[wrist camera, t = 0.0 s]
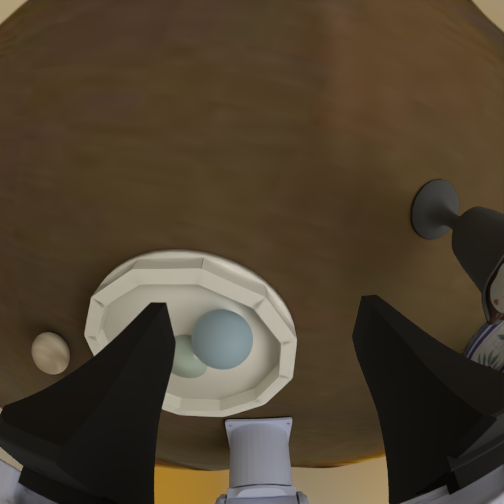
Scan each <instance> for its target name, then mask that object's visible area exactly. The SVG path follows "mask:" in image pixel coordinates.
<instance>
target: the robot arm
mask: <svg viewBox="0 0 504 504" xmlns="http://www.w3.org/2000/svg"><path fill="white" fill-rule="evenodd" d="M352 338H353V342H354V346H355V351H356V354H357V358H358V361H359V364H360V366H361V369H362V371H363V374H364V377H365V379H366V382H367V384H368V387H369V389H370V392H371V395H372V397H373V400H374V403H375V406H376V409H377V412H378V416H379V421H380V425H381V430H382V435H383V440H384V446H385V452H386V461H387V469H388V486H389V504H504V373H503V372H500V371H497V370H494V369H492V368H489V367H486V366H484V365H482V364H479V363H477V362H475V361H473V360H471V359H469V358H467V357H465V356H463V355H461V354H459V353H457V352H455V351H454V350H452V349H450V348H449V347H447V346H445V345H444V344H442V343H440V342H439V341H437V340H436V339H434V338H433V337H432V336H430V335H429V334H427V333H426V332H424V331H423V330H422V329H420V328H419V327H418V326H416V325H415V324H414V323H412V322H411V321H410V320H409V319H407V318H406V317H405V316H403V315H402V314H401V313H400V312H398V311H397V310H396V309H395V308H393V307H392V306H391V305H389V304H388V303H387V302H385V301H384V300H383V299H381V298H380V297H379V296H377V295H369V296H362V297H361V302H360V306H359V310H358V315H357V319H356V323H355V327H354V331H353V335H352ZM175 347H176V341H175V337H174V333H173V329H172V325H171V321H170V316H169V312H168V308H167V303H166V302H151V303H150V304H149V305H147V306H146V307H145V308H144V309H143V310H142V311H141V312H140V313H139V314H138V316H137V317H136V318H135V319H134V320H133V321H132V322H131V323H130V324H129V325H128V326H127V327H126V328H125V329H124V330H123V331H122V332H121V333H120V334H119V335H117V336H116V337H115V338H114V339H113V340H112V341H111V342H110V343H109V344H108V345H106V346H105V347H104V348H103V349H102V350H101V351H100V352H99V353H98V354H96V355H95V356H94V357H93V358H91V359H90V360H89V361H88V362H86V363H85V364H84V365H82V366H81V367H80V368H78V369H77V370H75V371H74V372H72V373H71V374H69V375H67V376H66V377H64V378H63V379H61V380H60V381H58V382H56V383H55V384H53V385H51V386H49V387H47V388H46V389H44V390H42V391H40V392H38V393H36V394H34V395H31V396H29V397H27V398H24V399H22V400H19V401H16V402H14V403H11V404H8V405H5V406H4V408H3V410H2V412H1V414H0V447H1V448H2V449H4V450H5V451H6V452H7V453H8V454H9V455H11V456H12V457H13V458H14V459H15V460H17V461H18V462H19V463H20V464H22V465H23V469H22V471H19V470H18V469H16V468H15V467H13V466H12V465H10V464H8V463H6V462H5V461H3V460H1V459H0V504H154V466H155V451H156V440H157V432H158V423H159V418H160V413H161V409H162V405H163V402H164V398H165V394H166V390H167V386H168V383H169V379H170V375H171V371H172V367H173V362H174V355H175ZM225 426H226V431H227V436H228V441H229V446H230V475H229V488H228V489H227V495H226V494H222V495H221V496H220V497H219V498H217V500H216V504H309V502H308V499H307V496H306V495H305V494H303V493H302V492H296V487H295V486H292V477H291V466H290V457H289V447H288V441H289V436H290V431H291V426H292V418H291V417H285V418H268V419H227V420H225Z"/></svg>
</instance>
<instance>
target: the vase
mask: <svg viewBox="0 0 504 504" xmlns="http://www.w3.org/2000/svg"><path fill="white" fill-rule="evenodd" d="M463 356H465V357H467V358H469V359H471V360H473V361H475V362H477V363H479V364H482V365H484V366H486V367H489V368H492V369H494V370H497V371H500V372H503V373H504V321H502V322H501V323H499V324H496V325H488V324H487V322H486V323H485V324H484V325H483V327H482V328H481V329H480V330H479V331H478V332H477V333H476V334H475V336H474V337H473V338H472V340H471V341H470V343H469V344H468V346H467V348H466V350H465V351H464V354H463Z"/></svg>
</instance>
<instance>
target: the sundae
mask: <svg viewBox="0 0 504 504" xmlns="http://www.w3.org/2000/svg"><path fill="white" fill-rule="evenodd" d="M458 211H459V199H458V195H457V192H456V190H455V188H454V187H453V186H452V185H451V183H449V182H447V181H445V180H442V179H439V180H433V181H431V182H429V183H427V184H426V185H425V186H423V188H422V189H421V190H420V191H419V193H418V194H417V196H416V198H415V201H414V204H413V207H412V222H413V226H414V228H415V230H416V232H417V233H418V234H419V235H420V236H422V237H424V238H427V239H435V238H439V237H441V236H443V235H444V234H445V233H446V232H448V231H449V229H450V228H451V229H452V230H453V233H452V249H453V252H454V254H455V256H456V258H457V259H458V261H459V262H460V264H461V266H462V267H463V269H464V270H465V271H466V273H467V274H468V275H469V276H470V278H471V279H472V280H473V282H474V283H475V285H476V286H477V287H478V289H479V290H480V292H481V293H482V305H483V310H484V313H485V317H486V319H487V324H488V325H496V324H499V323H501V322H502V321H504V214H502V213H500V212H497V211H495V210H491V209H487V208H483V207H473V208H471V209H469V210H467V211H466V212H465V213H463V214H462V215H461V216H458Z"/></svg>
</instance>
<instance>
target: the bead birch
mask: <svg viewBox="0 0 504 504" xmlns="http://www.w3.org/2000/svg"><path fill="white" fill-rule="evenodd" d="M32 357H33V360H34V362H35V364H36V365H37V367H38V368H39V369H41V370H42V371H43V372H45V373H48V374H58V373H61V372H62V371H64V370H65V369H66V367H67V366H68V364H69V360H70V352H69V348H68V345H67V344H66V342H65V341H64V339H63V338H62V337H60V336H59V335H57V334H55V333H52V332H45V333H42V334H40V335H38V336H37V337H36V338H35V340H34V342H33V344H32Z"/></svg>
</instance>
